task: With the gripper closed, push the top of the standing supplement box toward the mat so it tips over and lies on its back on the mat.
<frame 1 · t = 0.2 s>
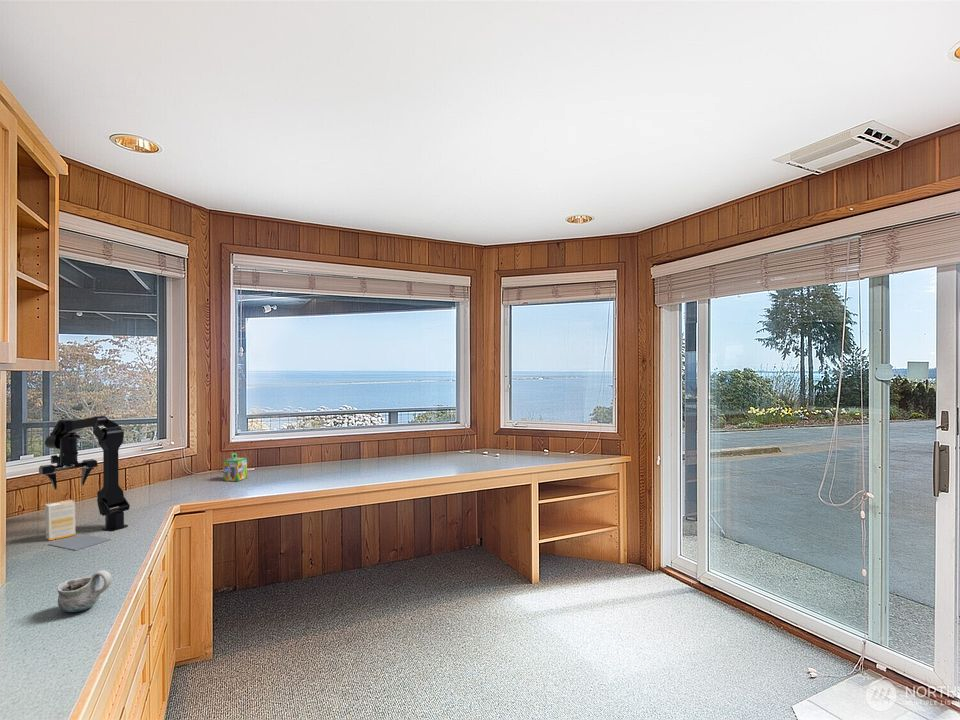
hand: (69, 487, 224), 14 cm above the table, tool pointing down, fingers open, 9 cm apart
supplement box: (60, 537, 203), on the table
mat: (79, 542, 198), on the table
mug: (86, 609, 145), on the table
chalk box: (235, 480, 299), on the table
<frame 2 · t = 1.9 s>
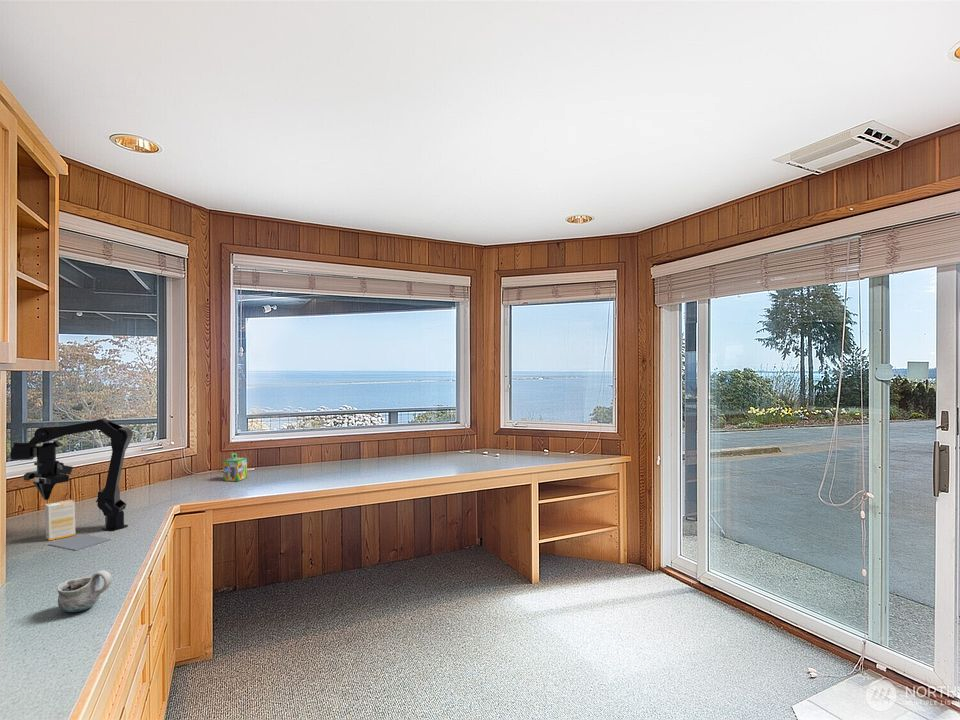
hand: (46, 499, 207), 13 cm above the table, tool pointing down, fingers closed
nothing on the table moved.
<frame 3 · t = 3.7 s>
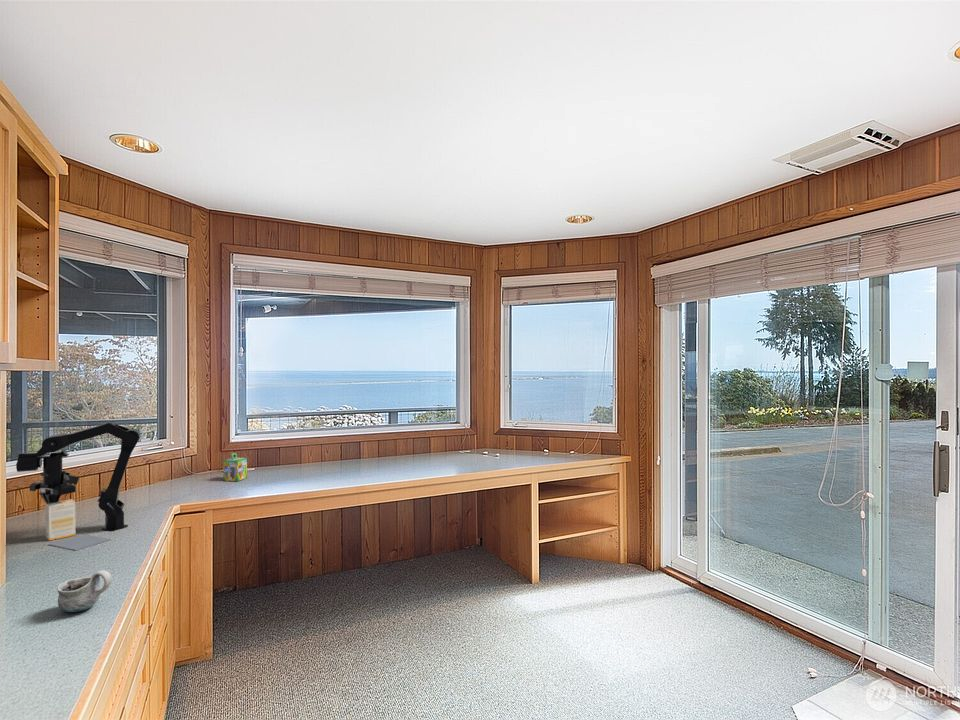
hand: (52, 510, 205), 10 cm above the table, tool pointing down, fingers closed
supplement box: (60, 537, 203), on the table, touching gripper
everything else where it was.
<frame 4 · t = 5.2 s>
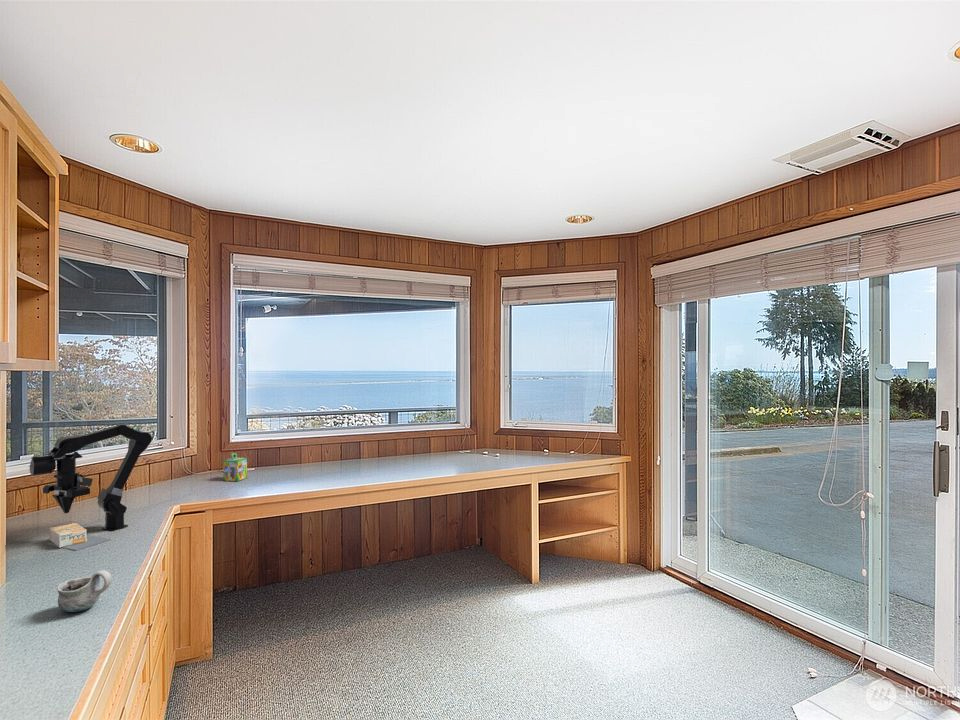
hand: (66, 512, 202), 9 cm above the table, tool pointing down, fingers closed
supplement box: (62, 530, 202), point 3 cm above the table, touching mat
everything else where it was.
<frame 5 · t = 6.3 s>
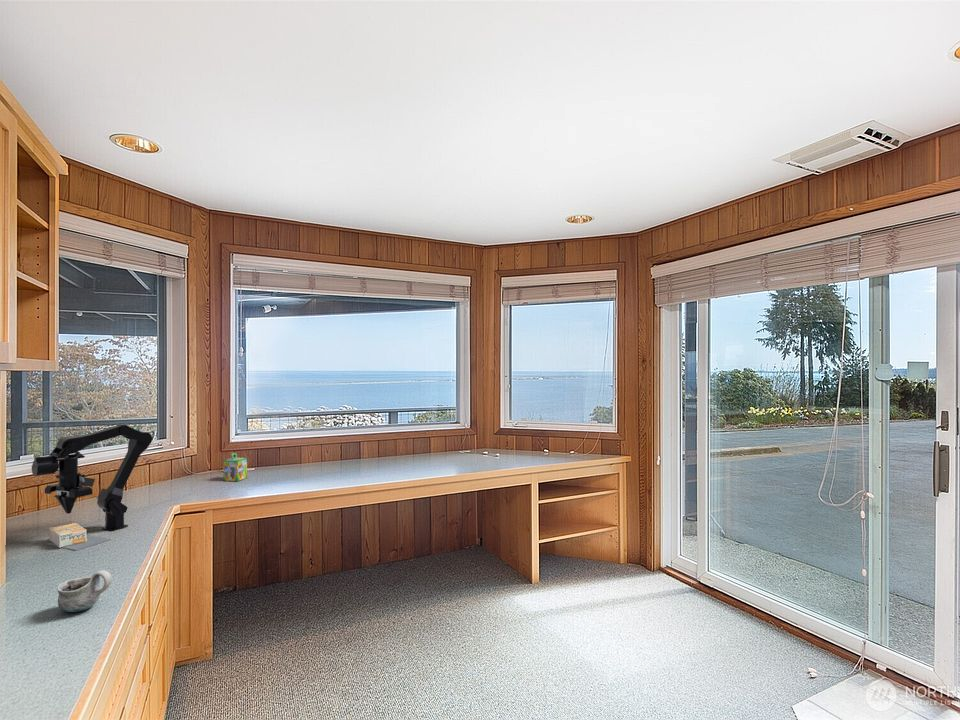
hand: (68, 513, 201), 10 cm above the table, tool pointing down, fingers closed
nothing on the table moved.
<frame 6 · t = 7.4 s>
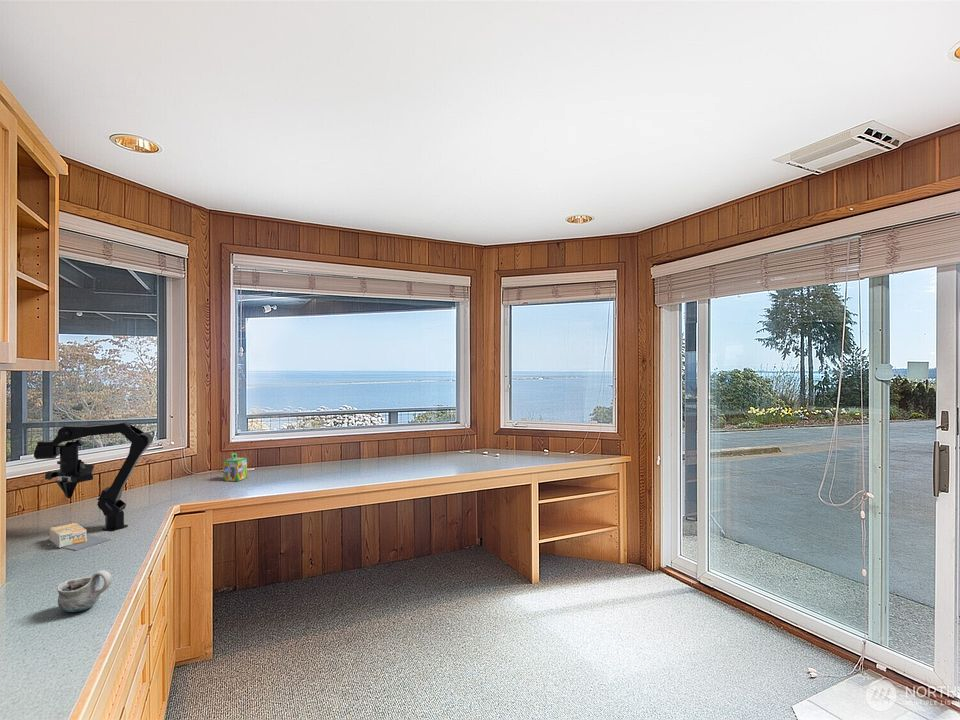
hand: (69, 498, 209), 13 cm above the table, tool pointing down, fingers closed
nothing on the table moved.
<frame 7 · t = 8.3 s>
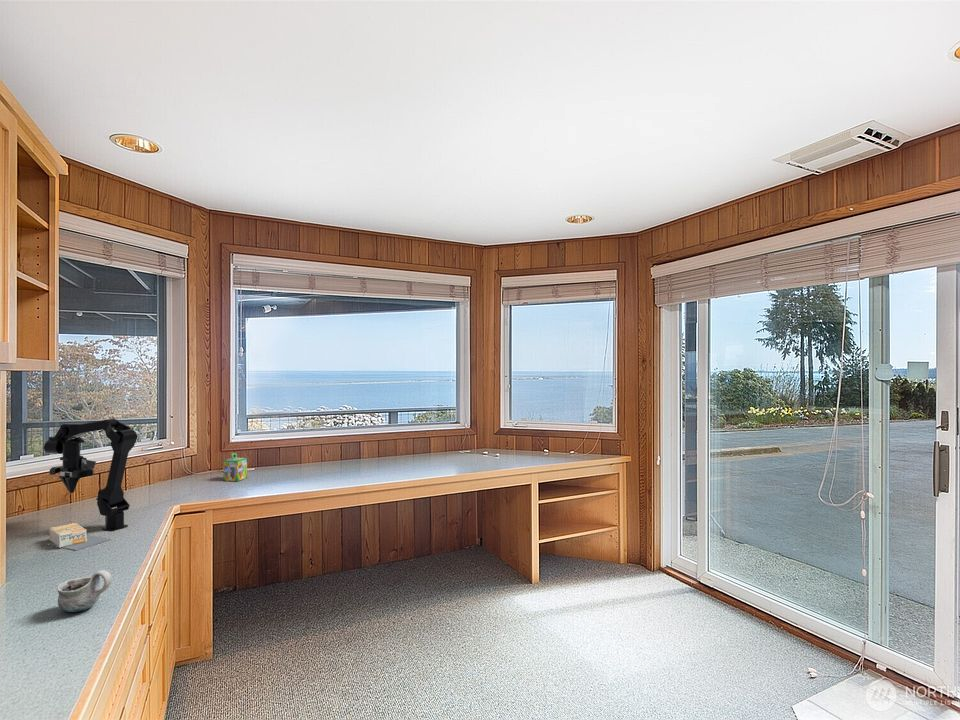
hand: (71, 492, 218), 13 cm above the table, tool pointing down, fingers closed
nothing on the table moved.
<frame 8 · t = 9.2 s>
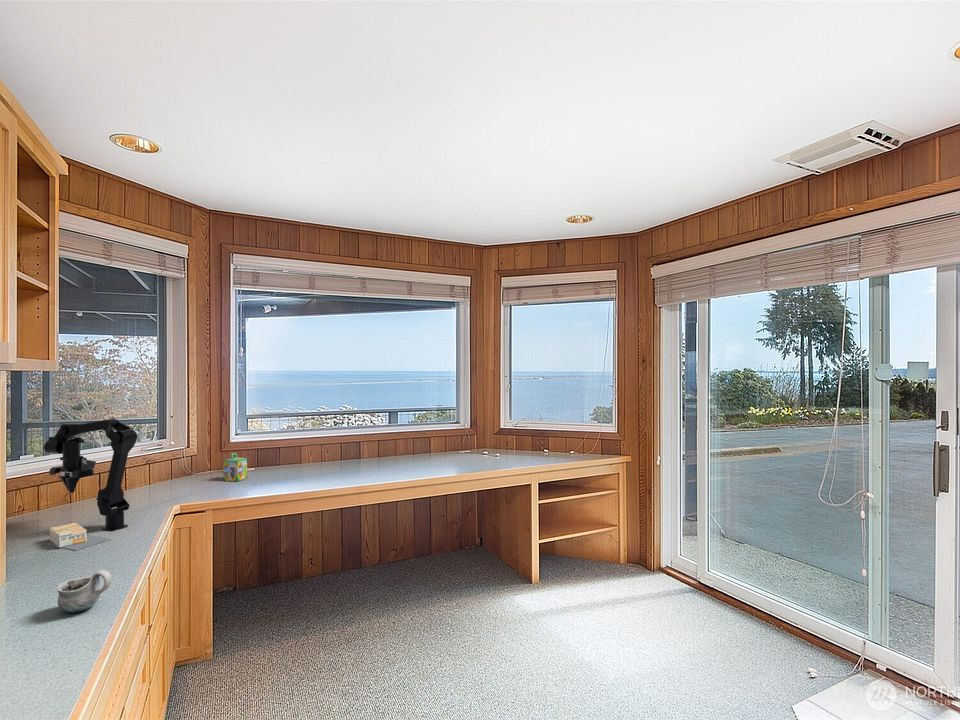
hand: (71, 492, 218), 13 cm above the table, tool pointing down, fingers closed
nothing on the table moved.
at the end: supplement box tilted 90°; supplement box touching mat; supplement box inside the target area (2.5 cm from its centre), point 2.7 cm above the table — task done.
